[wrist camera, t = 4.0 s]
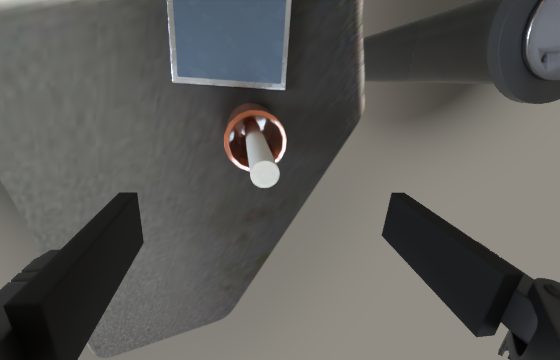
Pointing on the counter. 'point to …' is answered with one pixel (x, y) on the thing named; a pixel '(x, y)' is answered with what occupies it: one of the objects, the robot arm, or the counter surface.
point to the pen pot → (236, 133)
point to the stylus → (260, 157)
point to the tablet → (230, 42)
